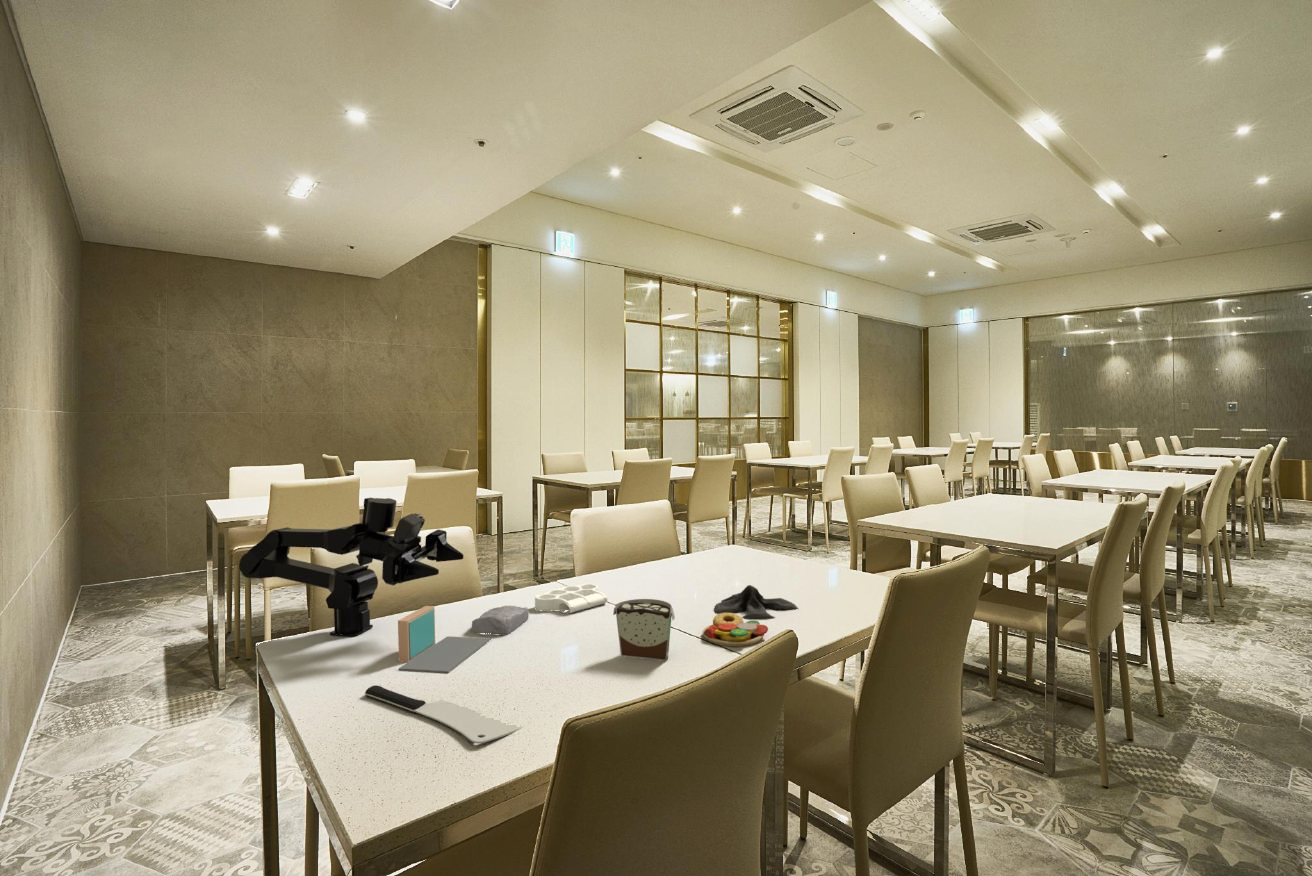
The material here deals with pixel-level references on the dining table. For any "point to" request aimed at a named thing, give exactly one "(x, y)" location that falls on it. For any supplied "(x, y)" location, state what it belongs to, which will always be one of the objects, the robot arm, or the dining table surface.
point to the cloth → (752, 604)
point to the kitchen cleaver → (447, 715)
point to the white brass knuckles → (570, 598)
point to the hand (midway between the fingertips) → (451, 564)
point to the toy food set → (734, 630)
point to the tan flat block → (416, 633)
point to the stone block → (500, 620)
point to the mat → (445, 654)
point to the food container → (644, 628)
